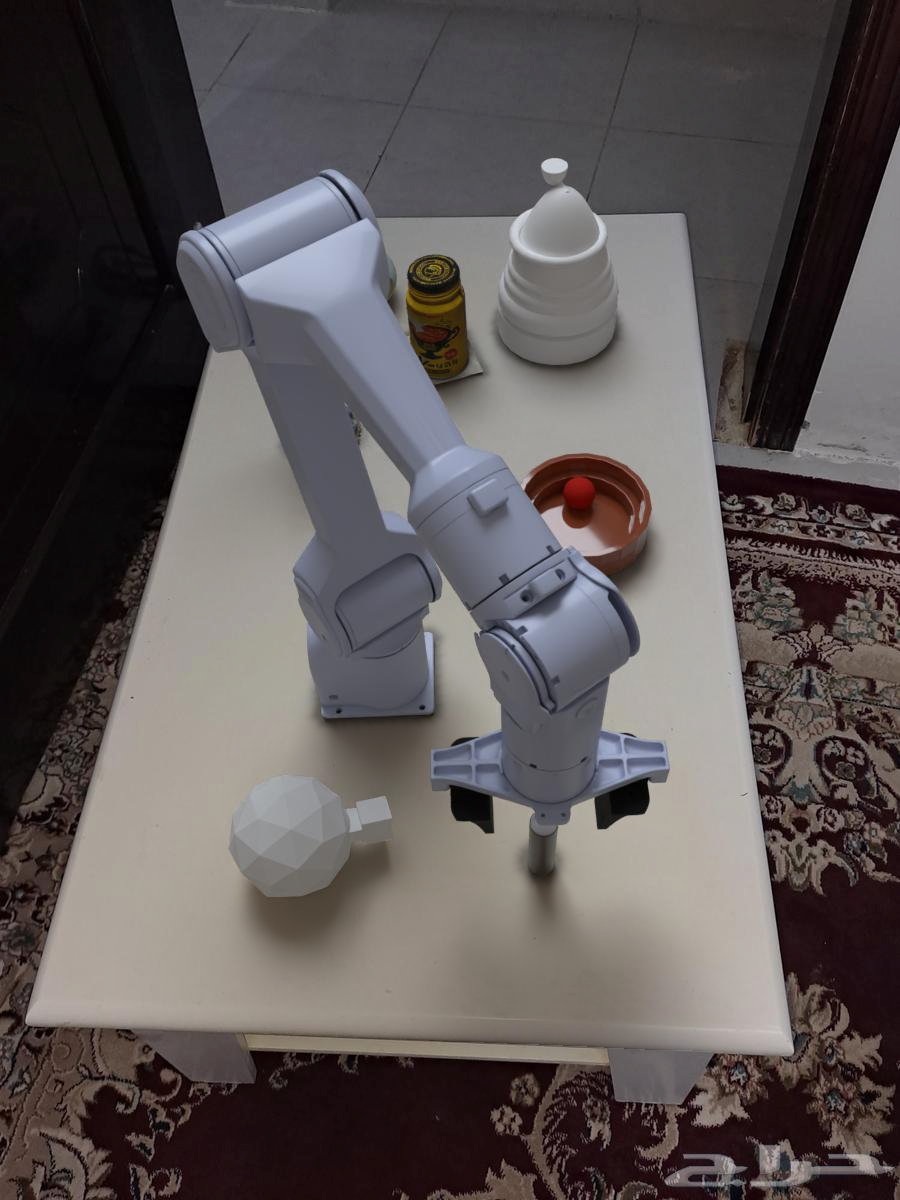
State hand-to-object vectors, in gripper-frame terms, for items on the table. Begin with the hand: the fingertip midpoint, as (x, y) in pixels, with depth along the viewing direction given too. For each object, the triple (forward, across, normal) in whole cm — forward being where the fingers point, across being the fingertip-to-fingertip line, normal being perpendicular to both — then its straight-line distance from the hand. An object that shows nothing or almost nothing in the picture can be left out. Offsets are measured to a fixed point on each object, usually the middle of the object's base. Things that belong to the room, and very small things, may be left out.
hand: (544, 817), depth 68 cm
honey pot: (+9, +6, +61) cm, 62 cm away
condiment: (+9, -7, +57) cm, 58 cm away
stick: (+9, 0, 0) cm, 9 cm away
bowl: (+9, +6, +32) cm, 34 cm away
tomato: (+7, +6, +35) cm, 36 cm away
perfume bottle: (+9, -17, +1) cm, 19 cm away
